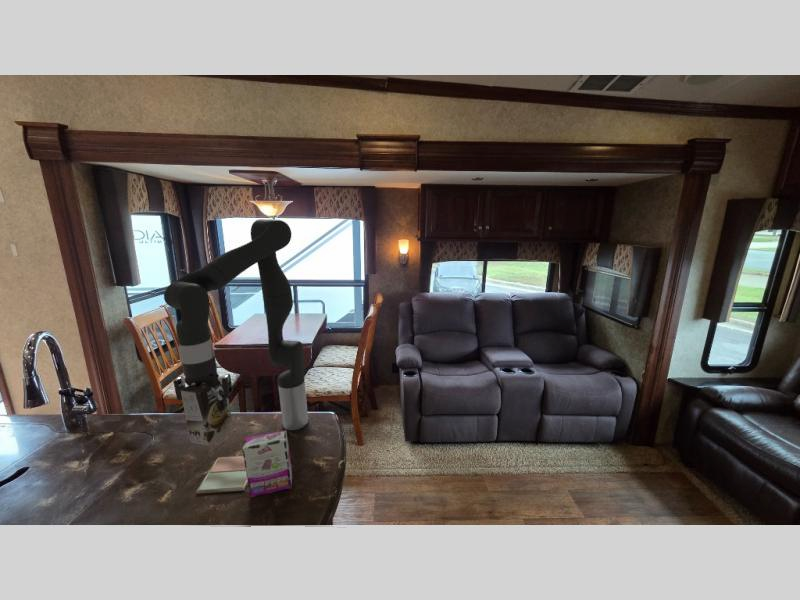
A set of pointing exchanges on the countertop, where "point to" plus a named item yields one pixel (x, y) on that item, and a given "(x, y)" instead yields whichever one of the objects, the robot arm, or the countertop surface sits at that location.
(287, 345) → the robot arm
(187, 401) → the coffee box
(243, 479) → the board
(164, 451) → the countertop surface
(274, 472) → the candy bar box
